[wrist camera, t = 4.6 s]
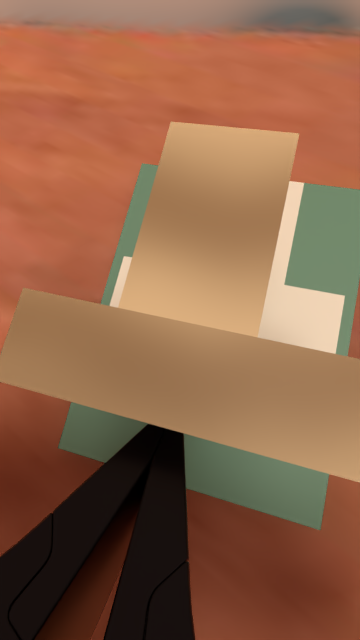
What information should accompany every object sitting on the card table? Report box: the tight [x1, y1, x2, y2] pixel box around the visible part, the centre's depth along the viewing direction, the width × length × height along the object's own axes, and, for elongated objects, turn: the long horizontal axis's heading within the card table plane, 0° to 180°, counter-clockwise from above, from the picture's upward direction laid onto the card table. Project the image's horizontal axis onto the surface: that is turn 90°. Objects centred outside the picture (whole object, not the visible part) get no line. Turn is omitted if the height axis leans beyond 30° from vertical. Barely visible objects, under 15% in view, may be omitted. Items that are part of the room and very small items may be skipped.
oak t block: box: [0, 122, 360, 483], centre depth 12 cm, size 8×9×8 cm
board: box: [58, 164, 360, 530], centre depth 16 cm, size 16×12×1 cm
